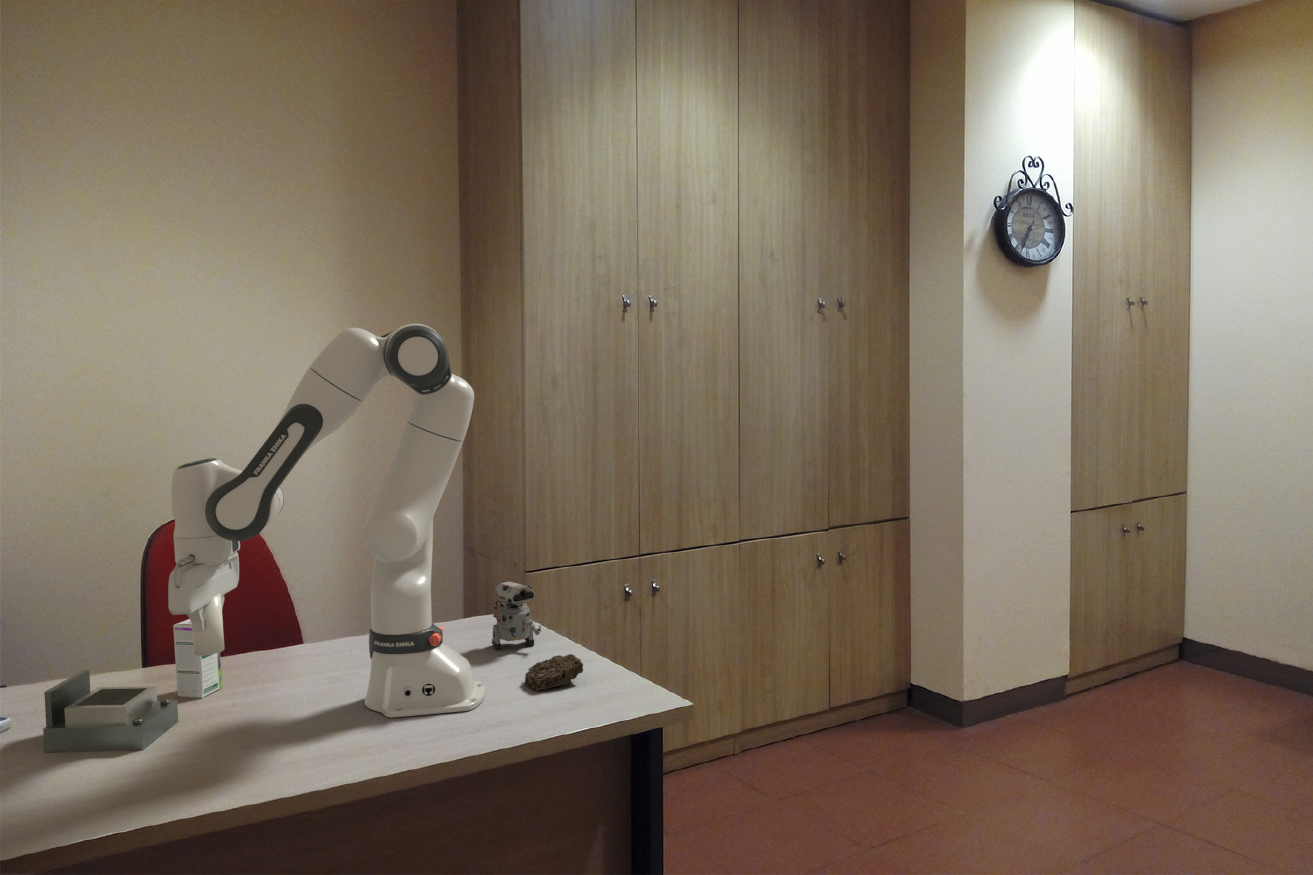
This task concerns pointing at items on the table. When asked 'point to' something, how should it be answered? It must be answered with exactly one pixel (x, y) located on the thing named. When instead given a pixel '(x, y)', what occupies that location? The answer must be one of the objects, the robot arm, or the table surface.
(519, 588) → the figurine
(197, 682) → the syrup box
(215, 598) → the white rounded piece
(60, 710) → the bolted metal fixture
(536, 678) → the brown porous lump
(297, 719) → the table surface
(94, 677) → the table surface
